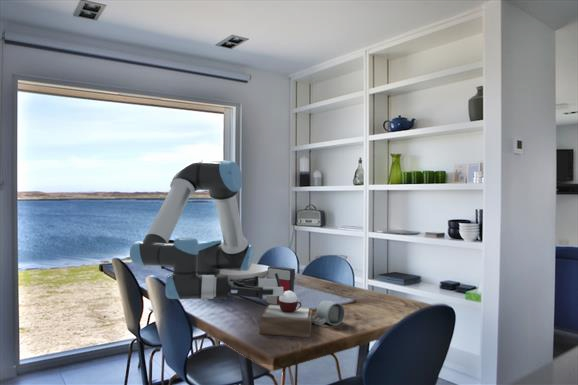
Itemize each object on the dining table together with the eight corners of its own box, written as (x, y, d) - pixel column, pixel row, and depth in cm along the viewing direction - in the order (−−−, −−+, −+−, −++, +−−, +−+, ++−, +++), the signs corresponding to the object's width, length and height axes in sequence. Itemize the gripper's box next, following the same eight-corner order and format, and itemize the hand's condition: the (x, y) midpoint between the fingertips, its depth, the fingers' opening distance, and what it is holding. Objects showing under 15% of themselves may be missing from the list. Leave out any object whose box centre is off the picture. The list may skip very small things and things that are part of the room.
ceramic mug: (331, 318, 151) (331, 297, 152) (345, 324, 144) (345, 302, 145) (307, 322, 146) (307, 300, 146) (320, 328, 139) (320, 305, 139)
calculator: (265, 304, 168) (266, 267, 168) (270, 301, 172) (271, 265, 172) (289, 308, 163) (290, 270, 163) (293, 305, 167) (295, 268, 167)
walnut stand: (267, 319, 147) (267, 303, 147) (311, 322, 145) (312, 306, 145) (259, 333, 131) (260, 316, 131) (309, 337, 129) (310, 319, 130)
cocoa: (303, 313, 138) (306, 277, 138) (290, 316, 133) (294, 278, 133) (282, 306, 144) (285, 271, 144) (269, 308, 139) (273, 273, 139)
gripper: (215, 289, 146) (274, 289, 150) (214, 308, 122) (285, 307, 125) (215, 268, 146) (274, 269, 150) (215, 283, 122) (286, 283, 126)
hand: (279, 286), depth 138 cm, fingers open, 13 cm apart
